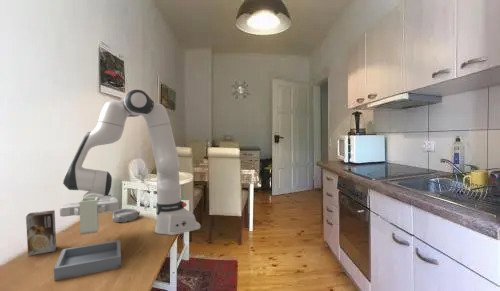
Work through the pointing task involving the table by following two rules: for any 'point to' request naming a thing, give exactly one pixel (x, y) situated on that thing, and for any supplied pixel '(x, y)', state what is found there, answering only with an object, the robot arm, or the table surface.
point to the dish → (125, 215)
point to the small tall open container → (88, 215)
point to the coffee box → (41, 232)
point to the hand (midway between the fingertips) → (89, 212)
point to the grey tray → (88, 260)
